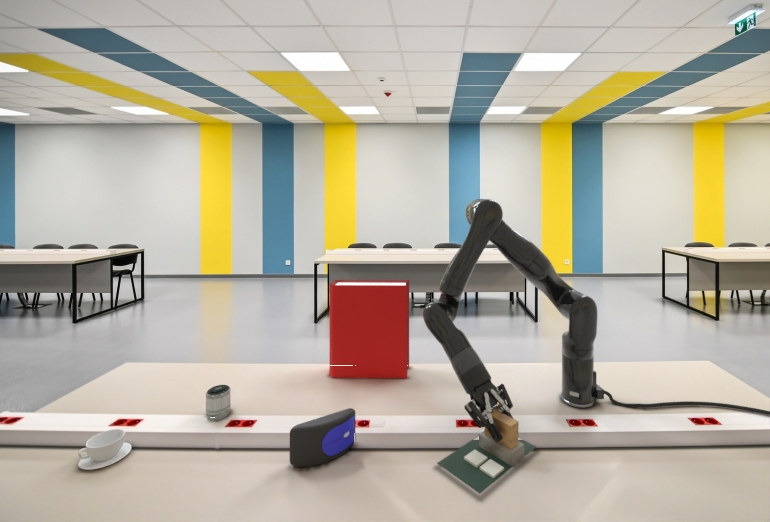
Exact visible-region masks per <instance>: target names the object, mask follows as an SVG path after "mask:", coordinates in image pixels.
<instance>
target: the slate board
mask: <svg viewBox="0 0 770 522" xmlns="http://www.w3.org/2000/svg"><path fill="white" fill-rule="evenodd" d="M518 441H519V442H521V443H523V444H524V457H523V458H522V459H521V460H523V459H524V458H525V457H526V456H528V455H529V454H530V453H532V451H534V450H535V449H536V448H537V446H536V445H534V444H532V443H530V442H528V441H526V440H524V439H523V440H518ZM473 450H477V451H478V452H480V453H482V454H483V455H485V456H486V457H488V460H490V459H491V460H493V461H494V462H496V463H498V464H499V465H501V466H502V467H504V470H503V471H502V472H501V473H500V474H498V475H497V476H496V477H495V478H492V477H490V476H489V475H487V474H486V473H484V472H482V471H481V470H480V466H482V465H483V464H484V463H486V462H487V461H488V460H486V461H485V462H484V463H482V464H481V465H480V466H478V467H477V468H476V467H475V466H473V465H472V464H470V463H469V462H467V461H466V460H464V457H465V456H466V455H467V454H469V453H470V452H472V451H473ZM519 462H520V461H518V462H517V463H516V464H515V465H517V464H518V463H519ZM436 464H437V465H438V466H440V467H441V468H443V469H444V470H446V471H447V472H448V473H450V475H453V476H454V477H455V478H457V479H458V480H460V481H461V482H463V483H464V484H465V485H467V486H468V487H470V488H471V489H472V490H474V491H475V492H476V493H477V494H479V495H481V494H482V492H484V491H486V489H488V488H489V487H490V486H491V485H492V484H494V483H495V482H496V481H497V480H499V479H500V478H501V477H503V476H504V475H505V474H506V473H507V472H508V471H510V470H511V469H512V468H513V467H514V466H515V465H513V466H511V465H509V464H507V463H506V462H504V461H502V460H501V459H499V458H497V457H496V456H494V455H492V454H491V453H489V452H487V451H486V450H484V449H482V448H481V447H479V440H473V439H471V440H470V441H468V442H466V443H465V444H464V445H462V446H460V447H459V448H458V449H456V450H455V451H453V452H452V453H450V454H449V455H447V456H445V457H444V458H442V459H441V460H440V461H438V462H437V463H436Z"/></svg>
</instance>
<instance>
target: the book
mask: <svg viewBox="0 0 770 522" xmlns="http://www.w3.org/2000/svg"><path fill="white" fill-rule="evenodd" d="M328 290H329V292H328V293H329V377H330V378H332V379H333V378H334V379H335V378H336V379H339V378H340V379H344V378H345V379H346V378H347V379H350V378H351V379H353V378H354V379H407V378H408V369H409V368H410V280H409V279H335V280H333V281H331V282H330V283H329V289H328ZM330 365H353V366H330ZM355 365H356V366H355ZM407 365H408V366H407Z"/></svg>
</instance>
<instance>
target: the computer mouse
mask: <svg viewBox="0 0 770 522" xmlns="http://www.w3.org/2000/svg"><path fill="white" fill-rule="evenodd" d="M354 433H355V434H356V410H355V409H354V408H351V407H350V408H346V409H342V410H339V411H336V412H333V413H329V414H326V415H324V416H323V415H322V416H320V417H317V418H315V419H311V420H308V421H305V422H302V423H299V424H296V425H294V426H293V427H292V428H290V430H289V463H290V465H291V466H293V467H295V468H308V467H309V468H310V467H315V466H318V465H322V464H325V463H328V462H330V461H333V460H335V459H337V458H339V457H340V456H342V455H344V454H345V453H347V452H348V451H349V450H350V449H351V448H352V447H353V446H354V444H355V442H354Z"/></svg>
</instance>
